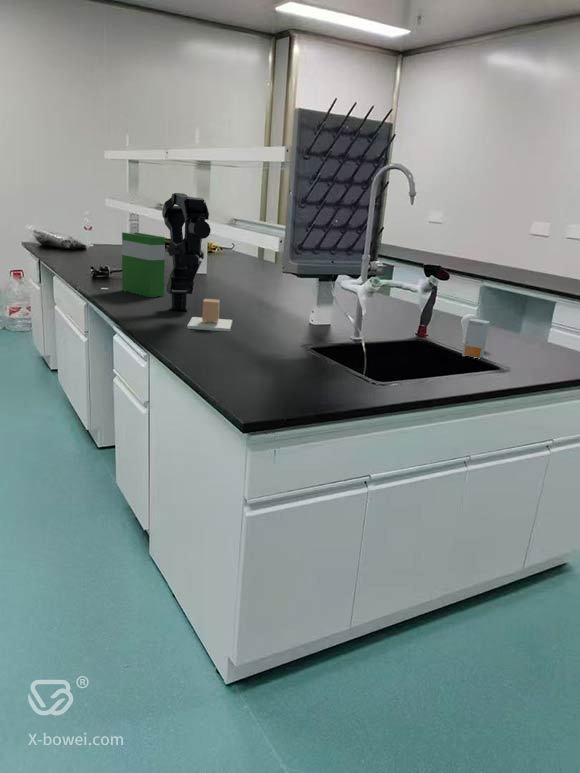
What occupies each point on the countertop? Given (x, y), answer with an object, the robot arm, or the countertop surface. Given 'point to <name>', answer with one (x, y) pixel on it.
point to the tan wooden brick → (211, 310)
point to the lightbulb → (466, 324)
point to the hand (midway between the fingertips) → (191, 281)
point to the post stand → (210, 324)
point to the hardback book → (143, 264)
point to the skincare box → (476, 338)
